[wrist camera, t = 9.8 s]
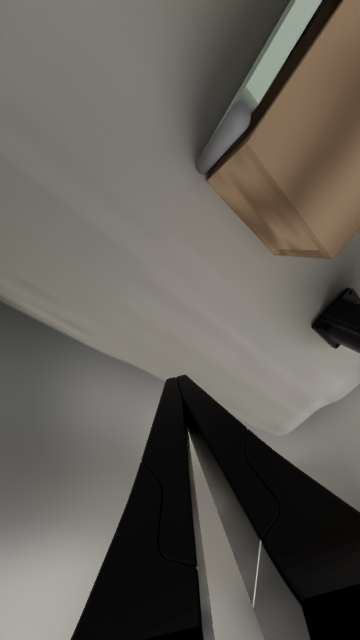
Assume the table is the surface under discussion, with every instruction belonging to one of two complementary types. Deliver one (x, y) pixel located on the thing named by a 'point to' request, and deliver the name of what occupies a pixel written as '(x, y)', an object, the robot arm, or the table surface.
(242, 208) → the cabinet
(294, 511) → the robot arm
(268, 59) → the door
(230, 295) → the table surface
